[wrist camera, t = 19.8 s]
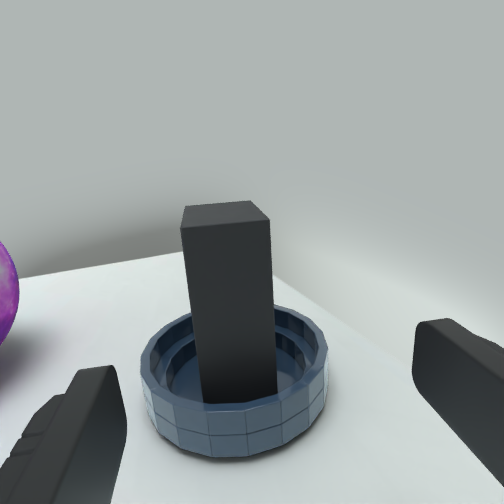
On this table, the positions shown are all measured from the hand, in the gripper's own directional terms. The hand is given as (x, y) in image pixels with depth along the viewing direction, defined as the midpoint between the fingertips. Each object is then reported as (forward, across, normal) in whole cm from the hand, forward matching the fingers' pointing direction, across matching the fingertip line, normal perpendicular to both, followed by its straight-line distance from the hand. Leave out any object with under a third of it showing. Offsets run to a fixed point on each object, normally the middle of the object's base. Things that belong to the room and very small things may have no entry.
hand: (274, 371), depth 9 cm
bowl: (+12, 0, +10) cm, 16 cm away
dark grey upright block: (+12, 0, +10) cm, 16 cm away
